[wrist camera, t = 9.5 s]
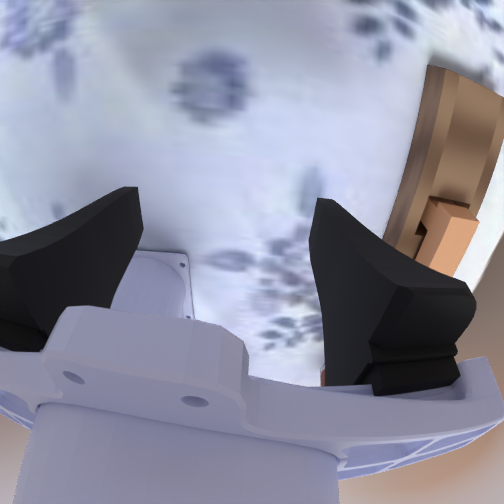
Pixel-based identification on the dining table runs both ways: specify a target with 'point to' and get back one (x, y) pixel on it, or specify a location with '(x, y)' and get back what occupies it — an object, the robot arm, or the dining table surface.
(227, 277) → the dining table surface
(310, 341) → the dining table surface
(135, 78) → the dining table surface
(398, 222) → the rail
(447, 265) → the clip
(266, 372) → the dining table surface
